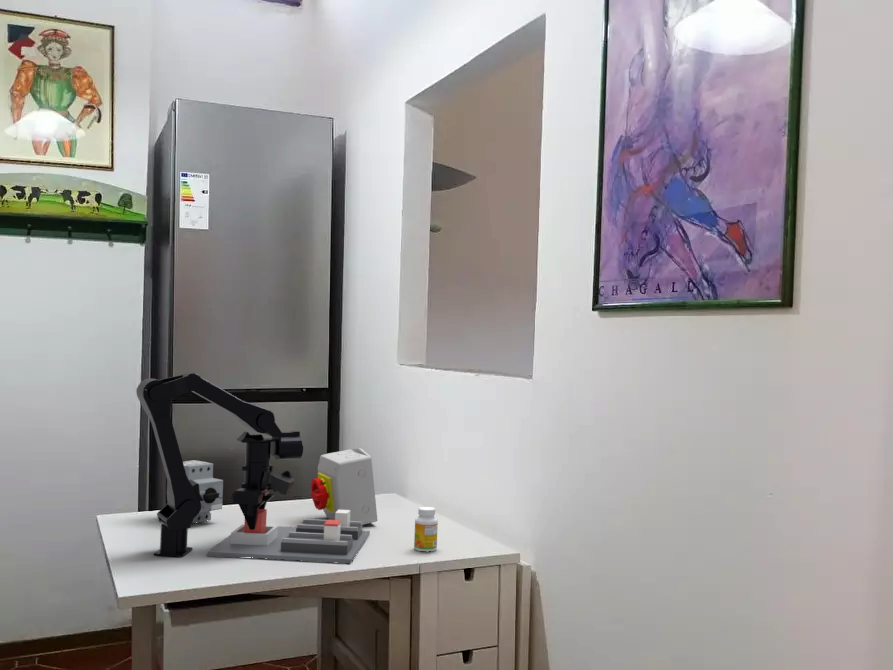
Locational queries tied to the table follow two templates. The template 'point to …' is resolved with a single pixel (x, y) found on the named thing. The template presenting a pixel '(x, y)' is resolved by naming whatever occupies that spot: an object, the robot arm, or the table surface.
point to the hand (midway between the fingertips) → (254, 527)
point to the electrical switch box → (345, 485)
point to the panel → (277, 549)
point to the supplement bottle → (426, 530)
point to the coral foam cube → (258, 523)
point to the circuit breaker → (205, 487)
